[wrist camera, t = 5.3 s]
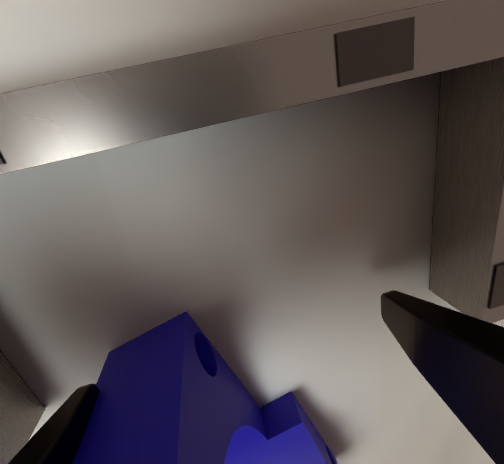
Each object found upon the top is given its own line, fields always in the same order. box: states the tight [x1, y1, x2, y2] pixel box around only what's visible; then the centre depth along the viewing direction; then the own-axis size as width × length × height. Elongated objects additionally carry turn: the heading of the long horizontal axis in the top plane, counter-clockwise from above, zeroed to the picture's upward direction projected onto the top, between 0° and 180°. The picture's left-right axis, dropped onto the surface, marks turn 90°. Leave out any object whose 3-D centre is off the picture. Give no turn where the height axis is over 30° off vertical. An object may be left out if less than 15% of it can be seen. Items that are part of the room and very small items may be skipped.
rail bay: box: [0, 0, 504, 464], centre depth 8 cm, size 9×17×2 cm, turn 102°
